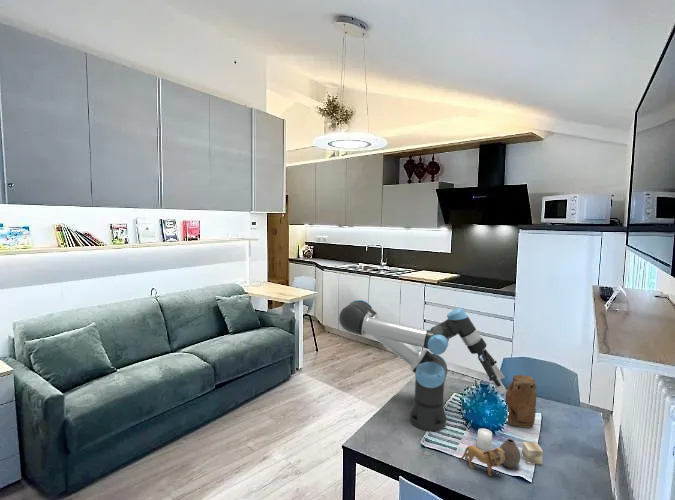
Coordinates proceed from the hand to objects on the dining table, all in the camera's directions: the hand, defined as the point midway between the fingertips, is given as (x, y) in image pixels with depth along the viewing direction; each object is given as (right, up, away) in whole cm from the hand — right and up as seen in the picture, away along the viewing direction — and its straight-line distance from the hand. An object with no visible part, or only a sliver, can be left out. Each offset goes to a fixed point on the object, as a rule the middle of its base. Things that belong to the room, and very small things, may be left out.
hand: (502, 385), depth 160 cm
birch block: (0, -18, -24) cm, 30 cm away
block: (+6, -16, -1) cm, 17 cm away
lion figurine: (-20, -18, -30) cm, 40 cm away
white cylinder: (-15, -17, -18) cm, 29 cm away
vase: (-10, -18, -27) cm, 34 cm away
